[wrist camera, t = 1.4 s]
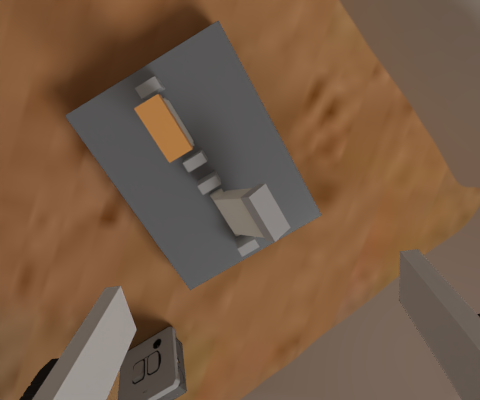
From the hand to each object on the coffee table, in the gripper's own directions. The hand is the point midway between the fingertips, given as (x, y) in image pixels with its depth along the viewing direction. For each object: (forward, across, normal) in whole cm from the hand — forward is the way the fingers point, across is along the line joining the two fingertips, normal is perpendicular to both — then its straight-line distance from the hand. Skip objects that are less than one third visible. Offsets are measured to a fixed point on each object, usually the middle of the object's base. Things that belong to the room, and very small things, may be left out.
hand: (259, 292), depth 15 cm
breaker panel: (+29, +7, +1) cm, 30 cm away
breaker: (+24, +4, +6) cm, 25 cm away
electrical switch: (+25, +19, +28) cm, 42 cm away
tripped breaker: (+24, +8, -5) cm, 26 cm away
